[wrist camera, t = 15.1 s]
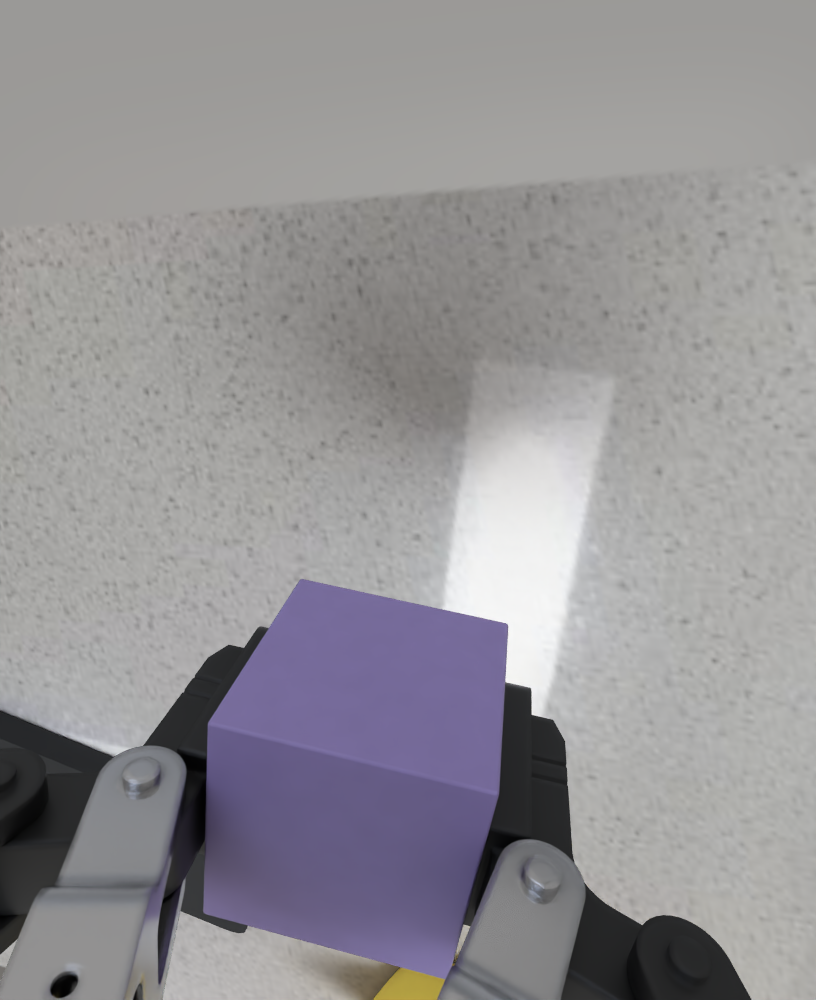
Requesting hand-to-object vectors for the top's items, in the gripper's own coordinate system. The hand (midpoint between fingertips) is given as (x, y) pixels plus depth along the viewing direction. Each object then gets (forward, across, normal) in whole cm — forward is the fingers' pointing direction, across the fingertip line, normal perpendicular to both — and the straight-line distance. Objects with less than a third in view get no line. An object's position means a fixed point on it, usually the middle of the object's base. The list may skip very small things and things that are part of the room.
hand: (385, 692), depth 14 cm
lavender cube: (0, 0, 0) cm, 0 cm away
